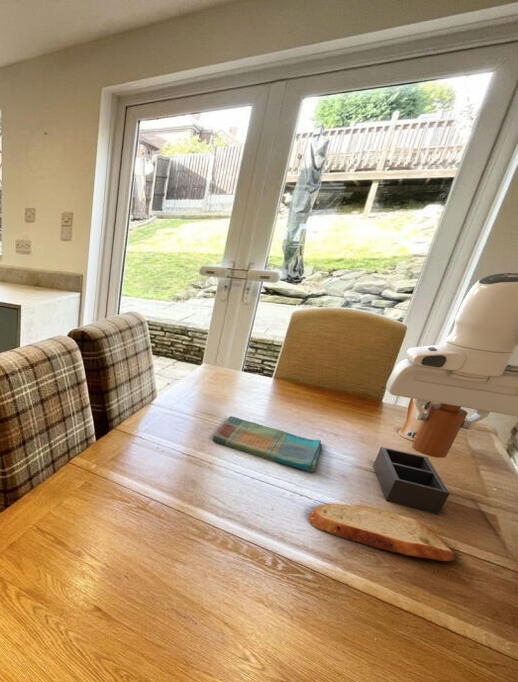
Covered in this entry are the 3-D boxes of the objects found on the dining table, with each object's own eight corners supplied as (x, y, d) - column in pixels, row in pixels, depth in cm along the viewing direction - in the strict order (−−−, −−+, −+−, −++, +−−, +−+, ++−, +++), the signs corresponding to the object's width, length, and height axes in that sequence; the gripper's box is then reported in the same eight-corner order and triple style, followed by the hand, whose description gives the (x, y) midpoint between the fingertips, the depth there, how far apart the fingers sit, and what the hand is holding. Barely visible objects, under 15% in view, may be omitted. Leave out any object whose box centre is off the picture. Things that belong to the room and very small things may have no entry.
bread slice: (298, 517, 82) (304, 502, 80) (354, 497, 88) (360, 483, 86) (404, 587, 66) (412, 570, 65) (463, 557, 72) (472, 541, 71)
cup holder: (418, 476, 95) (427, 456, 93) (438, 515, 83) (449, 493, 80) (372, 465, 99) (380, 446, 97) (385, 500, 87) (395, 479, 85)
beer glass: (390, 432, 115) (410, 385, 109) (406, 429, 117) (426, 382, 111) (419, 444, 109) (442, 395, 103) (435, 441, 110) (459, 392, 105)
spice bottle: (441, 449, 84) (468, 393, 79) (449, 460, 80) (478, 403, 75) (409, 442, 87) (433, 388, 82) (415, 452, 83) (441, 396, 78)
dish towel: (313, 476, 95) (317, 467, 94) (211, 442, 109) (213, 434, 108) (321, 447, 107) (324, 439, 106) (228, 420, 121) (230, 413, 120)
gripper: (545, 365, 73) (509, 430, 78) (398, 347, 83) (375, 405, 88) (564, 375, 68) (524, 444, 73) (405, 355, 78) (380, 416, 83)
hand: (441, 423), depth 81 cm, fingers closed on spice bottle, 5 cm apart
